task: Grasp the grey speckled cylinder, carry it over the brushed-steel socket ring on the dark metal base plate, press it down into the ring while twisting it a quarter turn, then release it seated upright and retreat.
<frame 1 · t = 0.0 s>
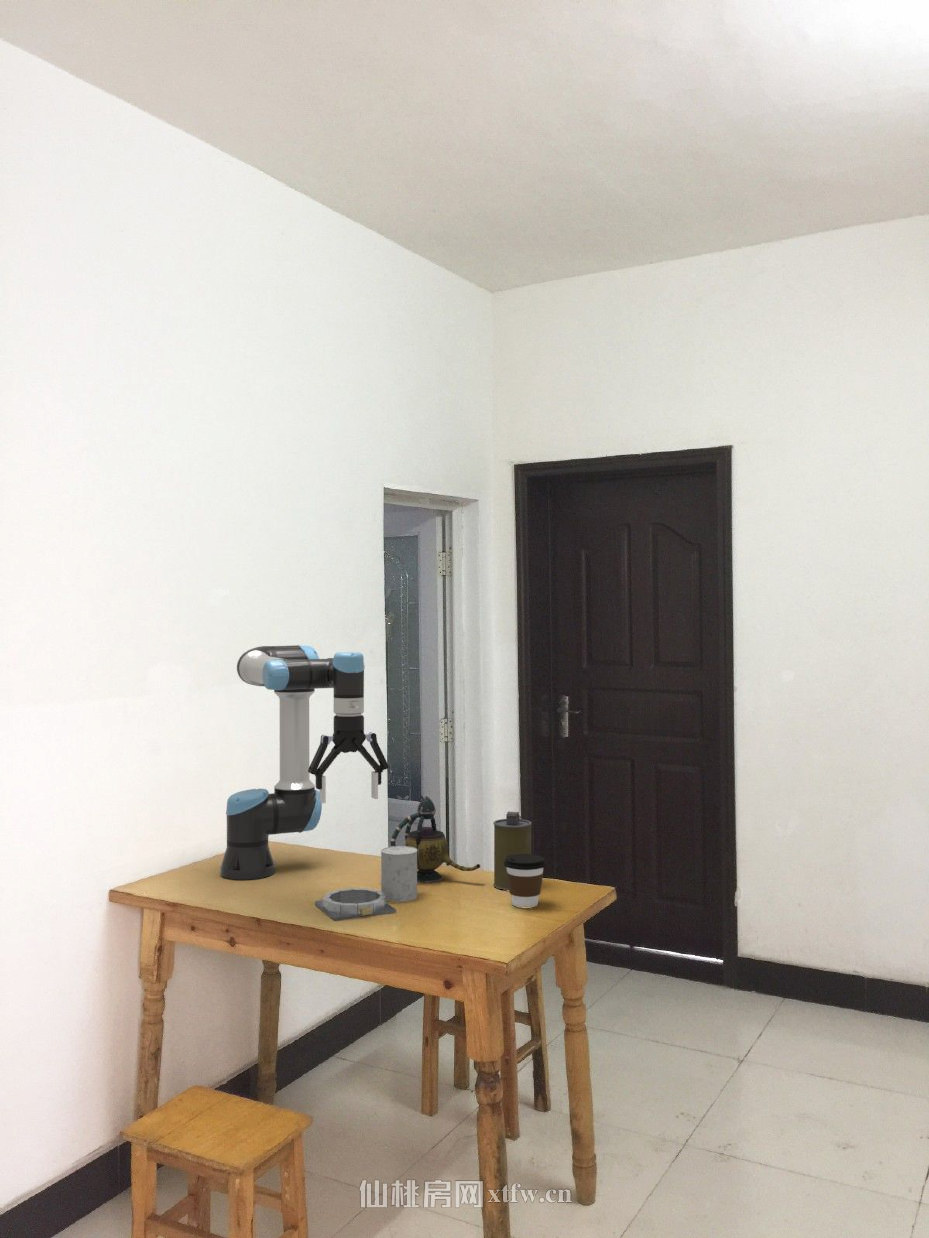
hand: (348, 800, 261), 28 cm above the table, fingers open, 13 cm apart
grey speckled cylinder: (399, 897, 275), on the table
canister: (512, 886, 286), on the table
coffee cup: (525, 906, 268), on the table
teapot: (438, 880, 292), on the table
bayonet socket: (354, 908, 265), on the table
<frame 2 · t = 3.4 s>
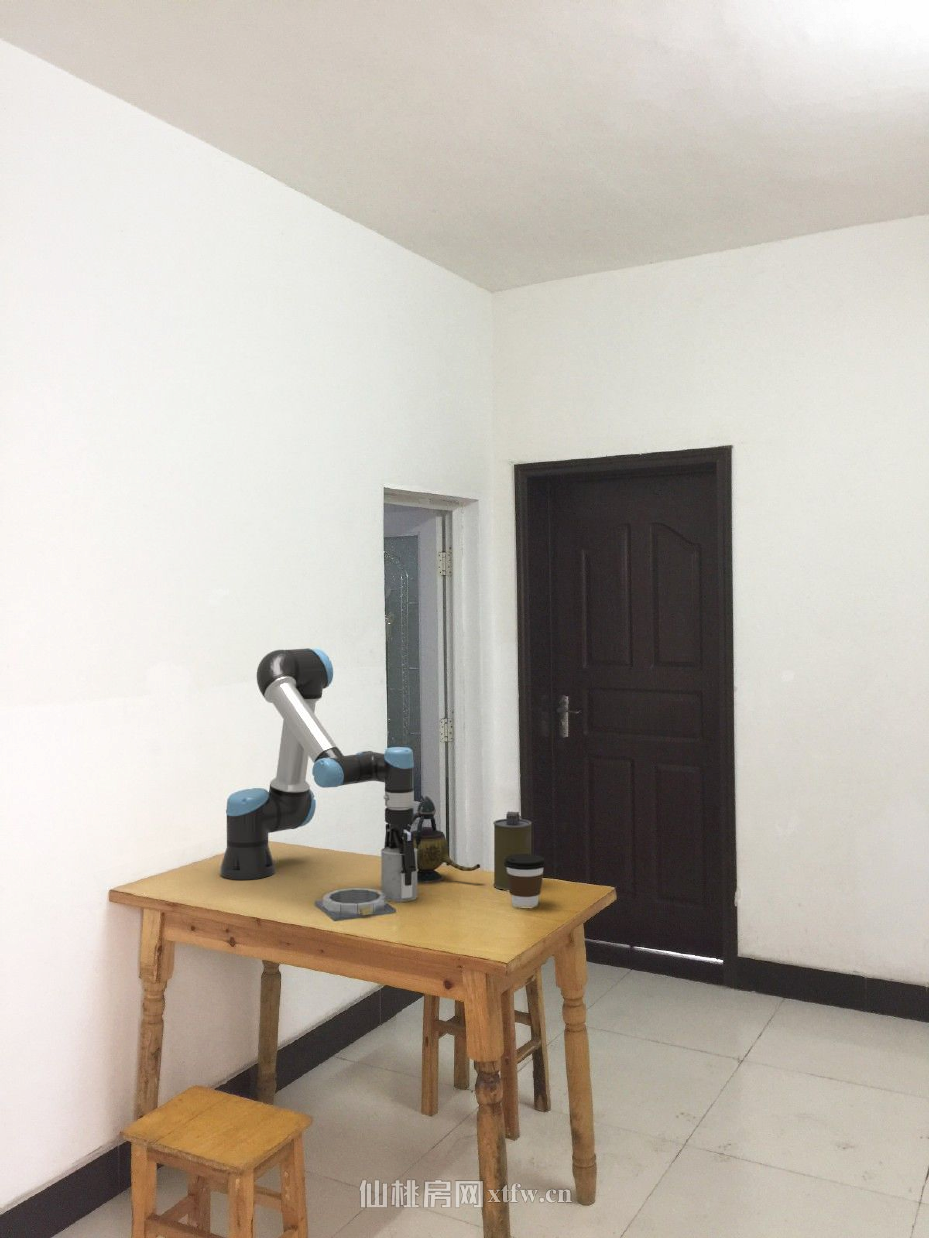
hand: (399, 892, 275), 1 cm above the table, fingers closed on grey speckled cylinder, 9 cm apart
grey speckled cylinder: (399, 897, 275), on the table, touching gripper
everything else where it was.
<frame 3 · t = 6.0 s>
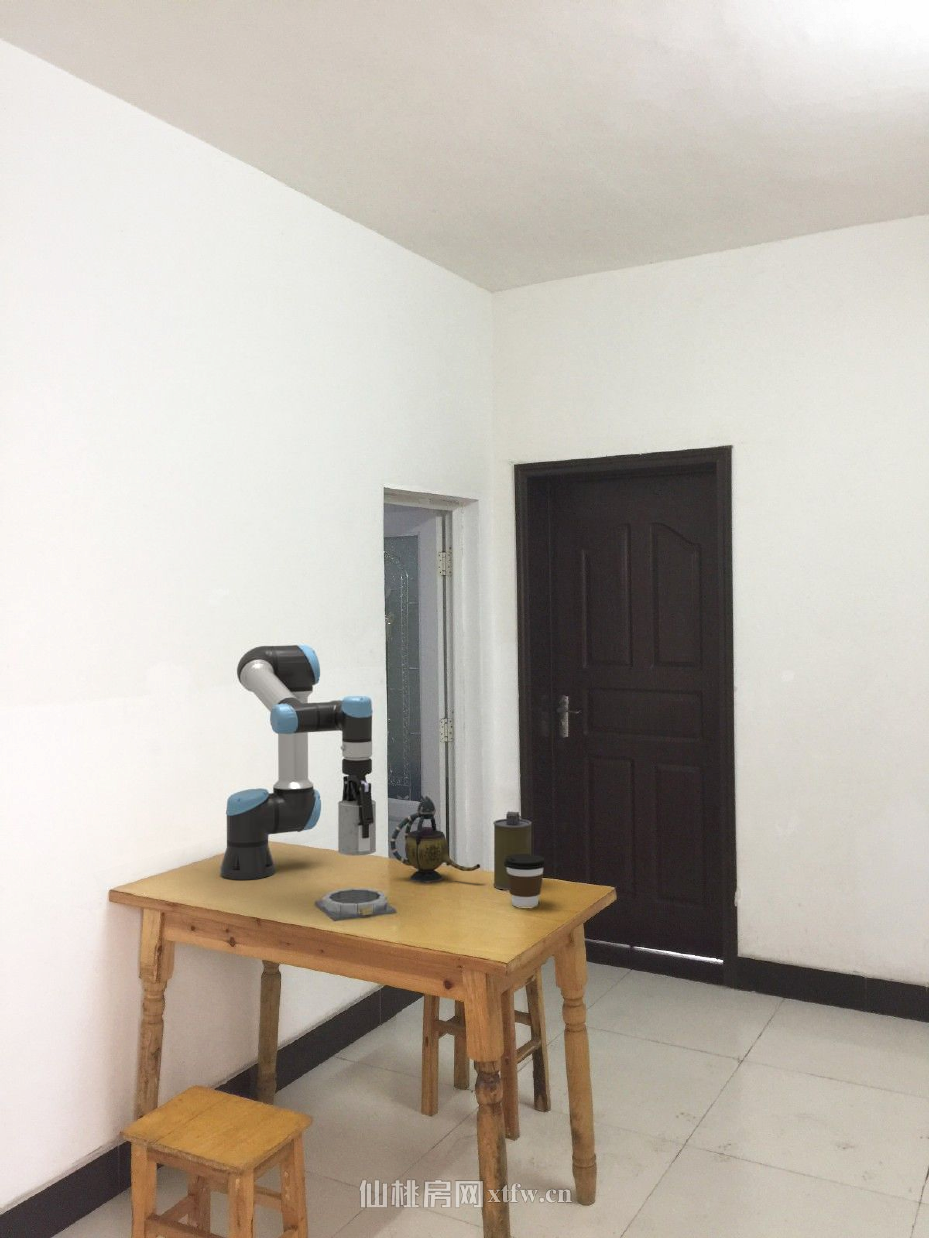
hand: (357, 846, 265), 15 cm above the table, fingers closed on grey speckled cylinder, 9 cm apart
grey speckled cylinder: (357, 851, 265), point 14 cm above the table, touching gripper
everything else where it was.
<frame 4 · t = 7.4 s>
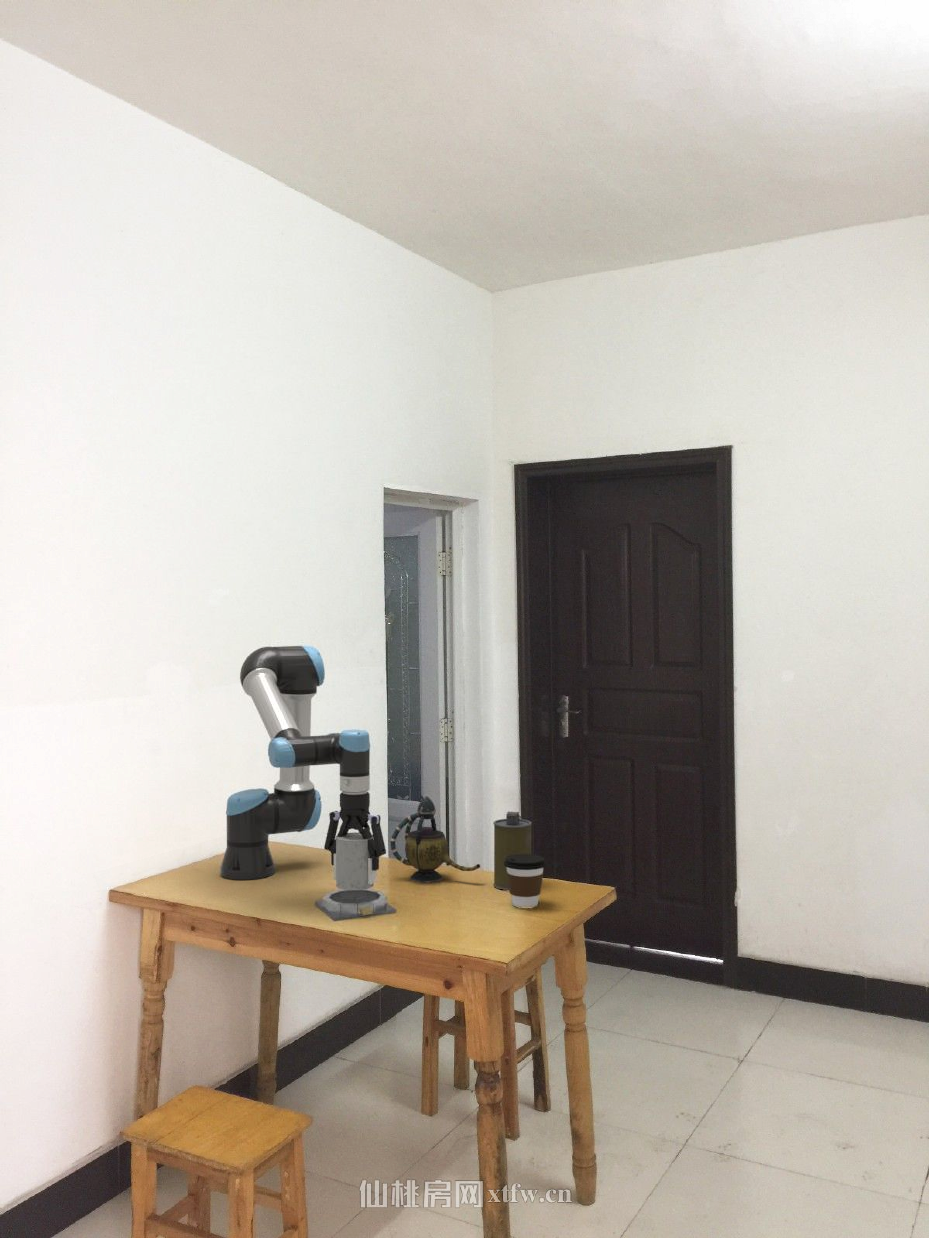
hand: (354, 880, 265), 7 cm above the table, fingers closed on grey speckled cylinder, 9 cm apart
grey speckled cylinder: (354, 885, 265), point 6 cm above the table, touching gripper
everything else where it was.
when the fingers open (4 cm above the table, at t = 8.7 s): grey speckled cylinder drops 2 cm, resting on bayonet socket.
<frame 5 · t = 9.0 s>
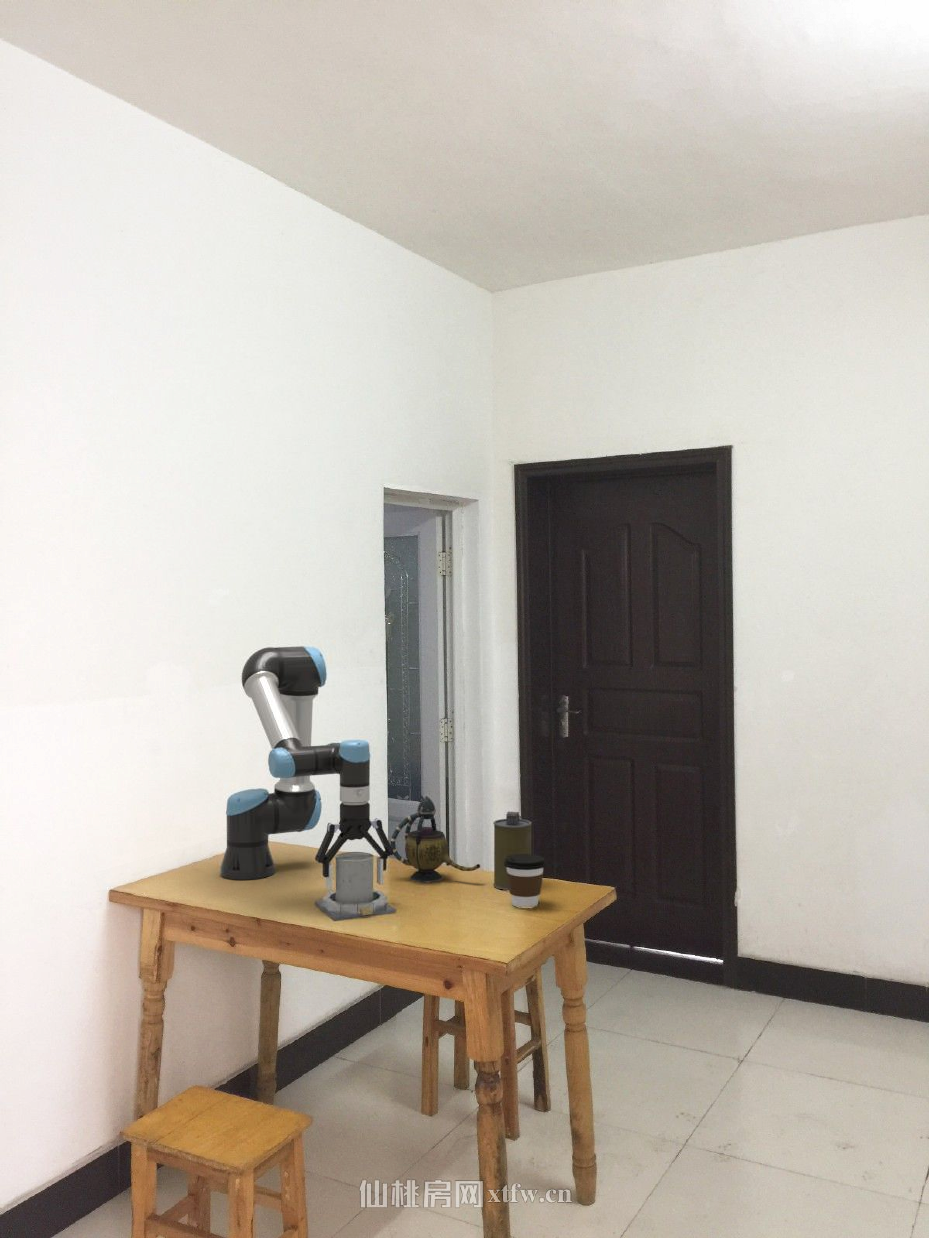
hand: (354, 886, 265), 5 cm above the table, fingers open, 13 cm apart
grey speckled cylinder: (354, 905, 265), point 1 cm above the table, touching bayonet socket
everything else where it was.
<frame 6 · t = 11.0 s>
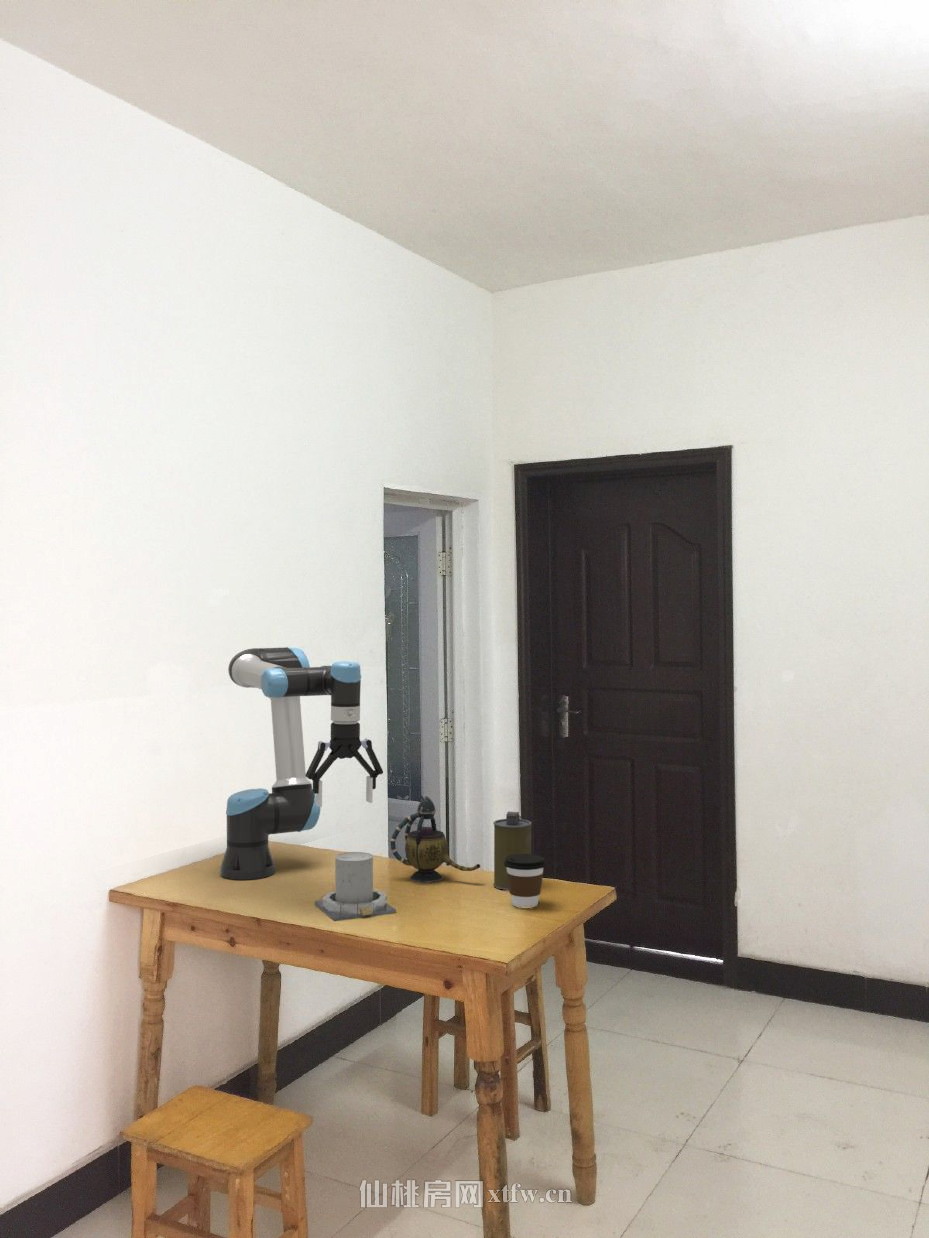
hand: (344, 803, 272), 25 cm above the table, fingers open, 13 cm apart
nothing on the table moved.
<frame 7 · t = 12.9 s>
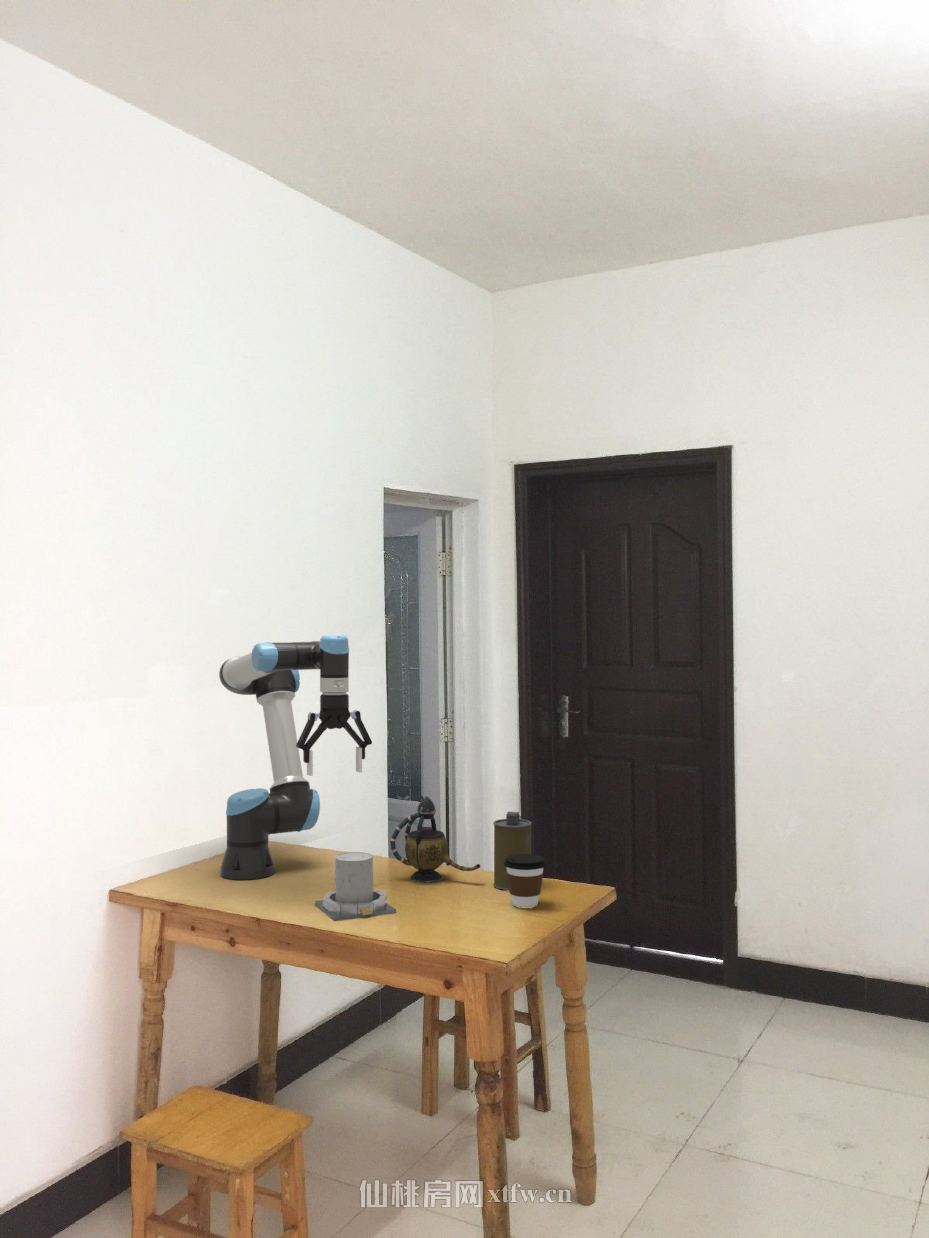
hand: (334, 773, 279), 32 cm above the table, fingers open, 13 cm apart
nothing on the table moved.
at the end: grey speckled cylinder 0.2 cm from the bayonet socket (horizontally); grey speckled cylinder tilted 0°; grey speckled cylinder touching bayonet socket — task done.
